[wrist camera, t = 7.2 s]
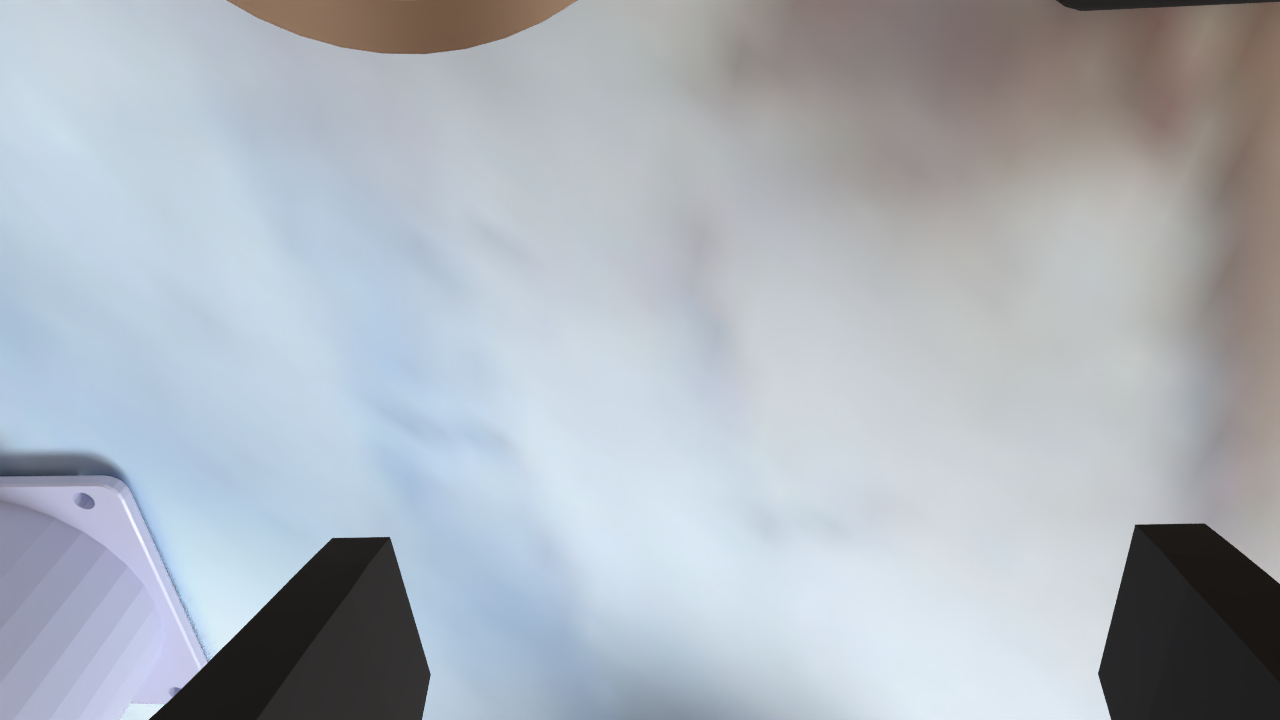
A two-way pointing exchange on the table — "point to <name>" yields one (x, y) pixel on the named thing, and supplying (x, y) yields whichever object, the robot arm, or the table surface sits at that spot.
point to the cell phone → (1146, 3)
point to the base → (404, 21)
